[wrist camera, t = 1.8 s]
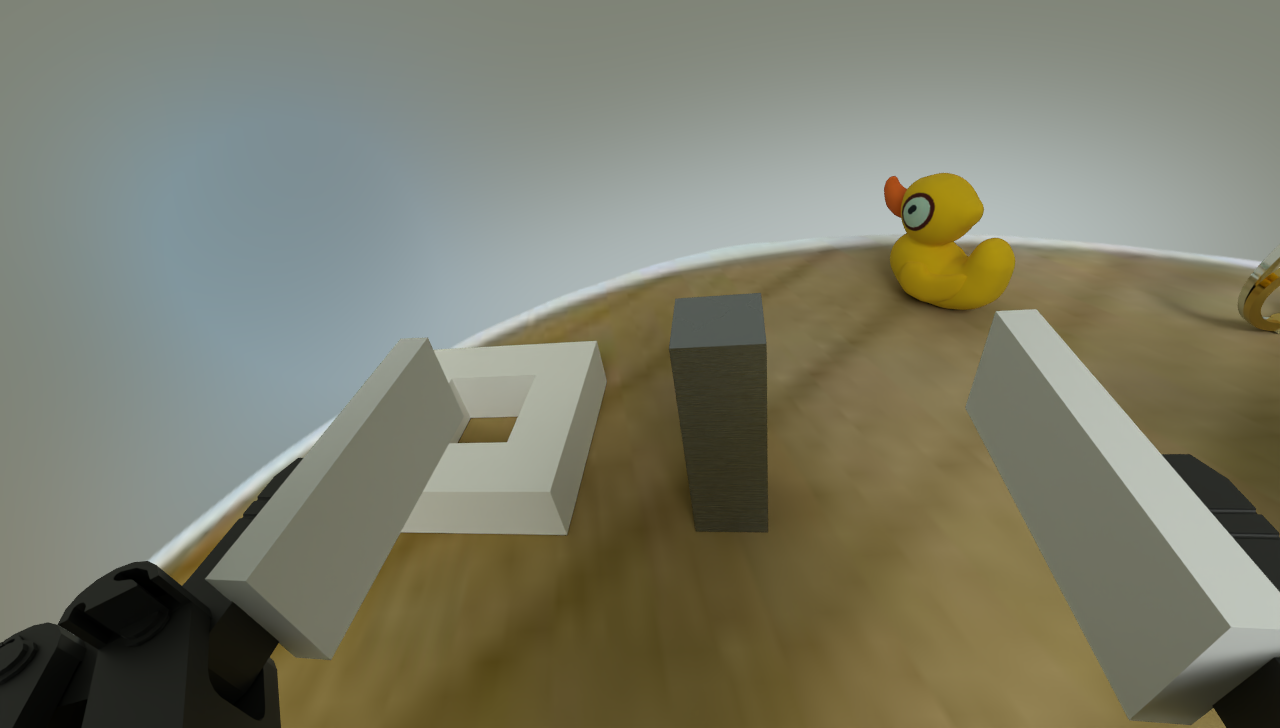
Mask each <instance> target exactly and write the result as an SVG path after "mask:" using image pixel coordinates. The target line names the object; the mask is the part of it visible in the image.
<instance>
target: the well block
mask: <svg viewBox="0 0 1280 728" xmlns="http://www.w3.org/2000/svg"><path fill="white" fill-rule="evenodd" d="M434 352H435V355H436V357H437V359H438V361H439V363H440V365H441V368H442V370H443V372H444V374H445V376H446V378H447V380H448V383H449V385H450V387H451V389H452V391H453V393H454V396H455V398H456V400H457V402H458V404H459V406H460V409H461V411H462V413H463V415H464V417H463V419H462V421H461V423H460V425H459V426H458V428H457V430H456V432H455V434H454V436H453V437H452V439H451V441H450V443H449V445H448V447H447V448H446V450H445V452H444V454H443V456H442V458H441V459H440V461H439V463H438V465H437V467H436V468H435V470H434V472H433V474H432V476H431V478H430V479H429V481H428V483H427V485H426V487H425V489H424V490H423V492H422V494H421V496H420V498H419V500H418V501H417V503H416V505H415V507H414V509H413V511H412V512H411V514H410V516H409V518H408V520H407V522H406V523H405V525H404V527H403V529H402V531H401V532H415V533H476V534H538V535H567V533H568V529H569V526H570V522H571V518H572V514H573V510H574V506H575V503H576V499H577V495H578V491H579V487H580V483H581V479H582V476H583V472H584V468H585V464H586V460H587V456H588V452H589V449H590V445H591V441H592V437H593V433H594V429H595V425H596V422H597V418H598V414H599V410H600V406H601V402H602V398H603V395H604V391H605V387H606V383H607V380H606V376H605V372H604V368H603V364H602V360H601V356H600V352H599V348H598V344H597V341H586V342H567V343H549V344H531V345H513V346H494V347H476V348H458V349H441V350H434ZM486 417H518V418H517V420H516V423H515V425H514V427H513V430H512V432H511V434H510V437H509V439H508V442H499V443H458V441H459V439H460V437H461V436H462V434H463V432H464V430H465V428H466V426H467V424H468V422H469V420H470V418H486Z"/></svg>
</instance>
